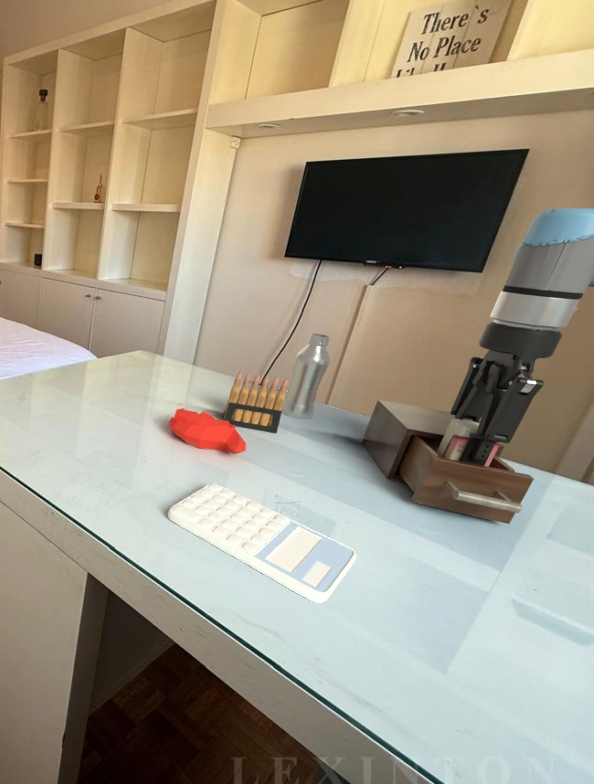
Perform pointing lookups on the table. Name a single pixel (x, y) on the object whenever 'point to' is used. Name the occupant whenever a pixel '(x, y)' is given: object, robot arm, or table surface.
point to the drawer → (462, 482)
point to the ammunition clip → (255, 404)
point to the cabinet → (402, 432)
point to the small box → (460, 440)
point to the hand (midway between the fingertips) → (457, 468)
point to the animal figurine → (206, 431)
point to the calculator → (266, 541)
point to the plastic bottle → (307, 377)
